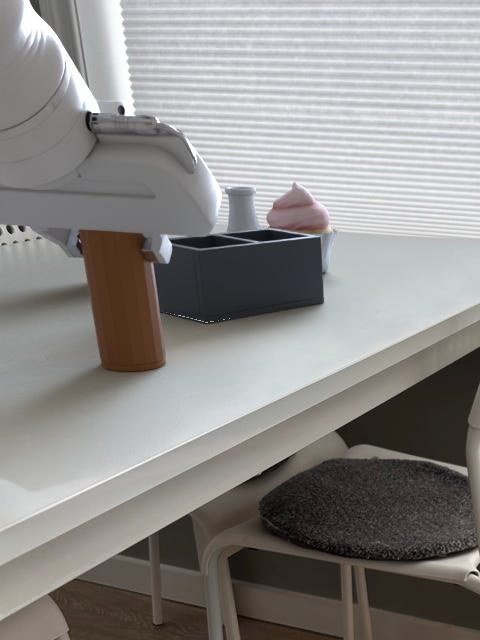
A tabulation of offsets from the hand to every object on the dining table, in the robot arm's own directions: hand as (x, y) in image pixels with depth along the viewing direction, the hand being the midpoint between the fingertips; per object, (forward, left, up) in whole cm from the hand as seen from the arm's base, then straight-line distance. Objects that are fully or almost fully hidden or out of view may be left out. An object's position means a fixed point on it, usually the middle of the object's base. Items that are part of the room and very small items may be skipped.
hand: (121, 253), depth 74 cm
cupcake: (-24, +39, -9) cm, 47 cm away
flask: (-22, +29, -9) cm, 38 cm away
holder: (-12, +20, -8) cm, 25 cm away
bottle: (0, -1, -8) cm, 8 cm away
